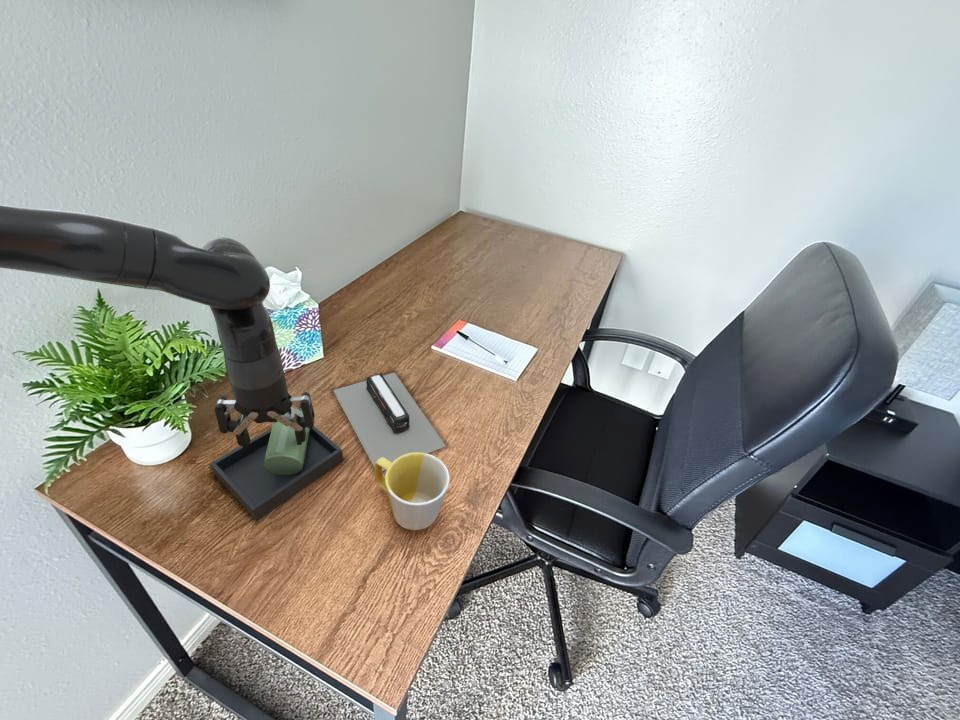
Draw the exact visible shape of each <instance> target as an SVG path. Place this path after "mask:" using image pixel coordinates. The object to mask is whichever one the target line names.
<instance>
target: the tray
mask: <svg viewBox="0 0 960 720" xmlns="http://www.w3.org/2000/svg"><path fill="white" fill-rule="evenodd" d="M271 429H272V427H271V428H269V429H267V430H266V431H264V432H262V433H260V434H259V435H257V436H255V437H253V438H252V439H250V444H249V448H248V449H243V446H239V445H238V446H237V447H236V448H234V449H232V450H230V451H229V452H227V453H225V454H224V455H222V456H220V457H218V458H217V459H215V460H213V461H211V462H210V463H209V466H210V468H211V471H212V474H213V476H214V477H215V478H216V479H217V480H218V481H219V482H220V483H221V484H222V485H223V486H224V487H225V489H226V490H227V491H228V492H229V493H230V494H231V495H232V496H233V497H234V498H235V500H236V501H237V502H239V504H240V505H241V506H242V507H243V508H244V509H245V510H246V511H247V513H249V514H250V517H252V518H253V519H254V520H255V521H256V522H258V521H259V520H260V519H262V518H263V517H265V516H266V515H267V514H269V513H270V512H271V511H273V510H275V509H276V508H277V507H279V506H280V505H282V504H283V503H285V502H286V501H288V500H289V499H290V498H292V497H293V496H294V495H296V494H297V493H299V492H300V491H302V490H303V489H304V488H306V487H307V486H309V485H310V484H312V483H313V482H315V481H316V480H317V479H319V478H321V477H322V476H323V475H325V474H326V473H328V472H330V471H331V470H332V469H333V468H335V467H336V466H337V465H340V463H342V462H343V461H344V455H343V449H342V448H341V447H339V446H338V445H337V444H336V443H335V442H334V441H333V440H331V439H330V438H329V437H328V436H326V435H325V434H324V433H323V432H322V431H321V430H320V429H318V428H317V427H316V426H313V427H312V428H310V430H309V436H308V442H307V448H306V453H305V459H304V464H303V468H302V470H301V471H300V472H298V473H296V474H292V475H279V474H274V473H271V472H269V471H268V470H266V469H265V468H264V466H263V463H264V458H265V454H266V450H267V446H268V441H269V437H270V433H271Z"/></svg>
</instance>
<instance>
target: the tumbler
mask: <svg viewBox="0 0 960 720" xmlns="http://www.w3.org/2000/svg"><path fill="white" fill-rule="evenodd" d="M294 409H295V411H296V412H297V413H298V414H300V415H301V416H303V413H302V411H299V409H298V408H294ZM285 416H286V414H285ZM303 417H304V416H303ZM271 428H272V429H271ZM271 428H270V429H271V433H270V437H269V441H268V446H267V450H266V454H265V458H264V463H263V466H264V468H265V469H266V470H268V471H269V472H271V473H274V474H279V475H292V474H296V473H298V472H300V471H301V470H302V468H303V464H304V459H305V453H306V448H307V442H308V436H309V430H310V428H308V427H306V428H305V430H306V439H305V442H302V445H297V441H296V436H295V429H293V428H292V427H290V426H285V425H283V424H282V423H280V422H279V421H277V422H272V425H271Z"/></svg>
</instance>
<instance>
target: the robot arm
mask: <svg viewBox="0 0 960 720" xmlns="http://www.w3.org/2000/svg"><path fill="white" fill-rule="evenodd" d="M0 269H6V270H15V271H22V272H28V273H36V274H41V275H42V274H43V275H49V276H54V277H55V276H56V277H62V278H68V279H74V280H82V281H87V282H88V281H89V282H93V283H100V284H108V285H115V286H121V287H128V288H136V289H142V290H143V289H144V290H151V291H152V290H153V291H159V292H164V293H167V294H170V295H173V296H176V297H178V298H181V299H184V300H188V301H190V302H195V303H198V304H202V305H205V306H207V307H208V306H209V309H210V311H211V313H212V316H213V319H214V322H215V325H216V331H217V335H218V338H219V342H220V345H221V349H222V352H223V357H224V366H225V371H226V377H227V378H228V380H229V383H230V388H231V391H232V393H233V397H234V399H228V398H227V397H226V396H224V395H221V396H219V397H218V398H217V400H216V403H215V407H214V413H215V417H216V421H217V425H218V429H219V432H220V433H221V434H228V433H232V434H233V435H234V436H235V439H236V442H237V444H238V447H239V446H243V449H248V448H249V444H250V440H251V437H250V434H249V430H248V428H249V426H250V425H251V424H252V423H253V422H254V423H256V424H263V423H264V424H265V423H273V422H277V421H279V422H280V423H282V424H283V425H285V426H290V427H292V428H293V429H295V436H296V441H297V445H302V442H305V439H306V430H305V428H306V427H308V428H312V427H313V426H314V425H315V419H316V418H315V417H316V414H315V411H314V406H313V401H312V398H311V394H310V393H309V392H307V391H304V392H302V393H301V396H300V395H299V396H292V395H291V394H290V393H289V390H288V385H287V381H286V376H285V370H284V365H283V359H282V355H281V352H280V349H279V347H278V344H277V339H276V334H275V329H274V325H273V322H272V318H271V316H270V314H269V312H268V310H267V309H266V307H265V305H264V304H263V302H264V300H265V299H266V298H267V297H268V295H269V293H270V290H271V281H270V277H269V275H268V272H267V270H266V269H265V267H264V265H262V263H260V262H259V260H258V259H257V257H256V256H255V255H254V254H253V252H252V251H251V250H250V249H249V248H248V247H246V246H245V244H243V243H242V242H240V241H238V240H236V239H233V238H230V237H221V236H219V237H214V238H211V239H209V240H207V241H206V242H205V243H203V244H202V245H201V247H197V246H195V245H191V244H189V243H187V242H186V241H184V240H182V239H181V238H180V237H178V236H177V235H176V234H174V233H172V232H170V231H167V230H165V229H160V228H157V227H152V226H148V225H145V224H139V223H135V222H130V221H126V220H123V219H118V218H113V217H107V216H102V215H97V214H92V213H86V212H85V213H84V212H80V211H79V212H77V211H70V210H59V209H49V208H47V209H46V208H37V207H22V206H14V205H13V206H12V205H5V204H0ZM293 406H295V407H296V408H295V407H293ZM233 409H234V410H235V411H236V412H238V413H239V414H240V416H239V417H238V418H237V419H236V420H233V419H232V416H231V412H232V411H233ZM295 409H298V410H299V411H302V413H303V416H304V417H303V416H301V415H300V414H298V413H297V412H296V411H295ZM285 414H286V416H285Z"/></svg>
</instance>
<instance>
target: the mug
mask: <svg viewBox="0 0 960 720" xmlns="http://www.w3.org/2000/svg"><path fill="white" fill-rule="evenodd" d="M382 468H384V469H385V470H384V471H385V475H383V471H382ZM374 478H375V479H374V480H375V481H376V484H377V485H378V486H379V487H380V488H381V489H382V490H383V491H384V492H386V493H387V496H388V499H389V501H388V502H389V504H390V507H391V512H392V516H393V519H394V520H395V522H396V523H397V524H398V525H399V526H400V527H402V528H403V529H407V530H410V531H421V530H425V529H427V528H428V527H430V526H432V524H434V522H435V521H436V520H437V519H438V516H439V513H440V511H441V507H442V505H443V502H444V500H445V498H446V495H447V492H448V489H449V486H450V480H451V479H450V472H449V470H448V467H447V466H446V465H445V463H444V462H443V461H442V460H441V459H440V458H438V457H436V455H435V456H434V455H432V454H430V453H428V454H427V453H420V452H415V453H408V454H405V455H402V456H400V457H398V458H397V459H395V460H394V461H393V462H390V461H389V460H387V459H386V458H384V457H381V458H379V459H378V460H377V461H376V463H375V468H374Z"/></svg>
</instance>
